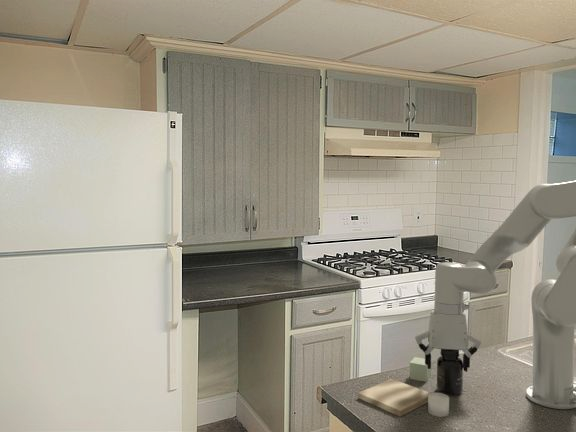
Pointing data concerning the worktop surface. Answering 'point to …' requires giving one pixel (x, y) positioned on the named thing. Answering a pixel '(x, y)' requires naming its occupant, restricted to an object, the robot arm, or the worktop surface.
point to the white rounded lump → (438, 404)
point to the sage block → (419, 370)
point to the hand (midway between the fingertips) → (446, 368)
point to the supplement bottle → (449, 372)
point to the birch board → (395, 396)
